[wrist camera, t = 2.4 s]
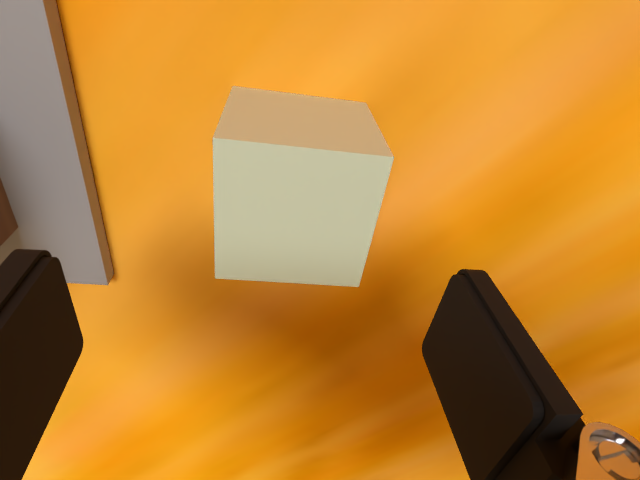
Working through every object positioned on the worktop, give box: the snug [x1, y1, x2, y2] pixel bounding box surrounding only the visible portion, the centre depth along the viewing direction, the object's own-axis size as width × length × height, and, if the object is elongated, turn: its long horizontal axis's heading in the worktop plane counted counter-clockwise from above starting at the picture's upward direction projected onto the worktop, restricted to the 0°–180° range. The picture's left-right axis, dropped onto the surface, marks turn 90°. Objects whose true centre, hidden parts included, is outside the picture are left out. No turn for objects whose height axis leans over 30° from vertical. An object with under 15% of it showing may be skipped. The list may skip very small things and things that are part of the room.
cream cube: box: [213, 86, 394, 287], centre depth 14 cm, size 5×5×5 cm
